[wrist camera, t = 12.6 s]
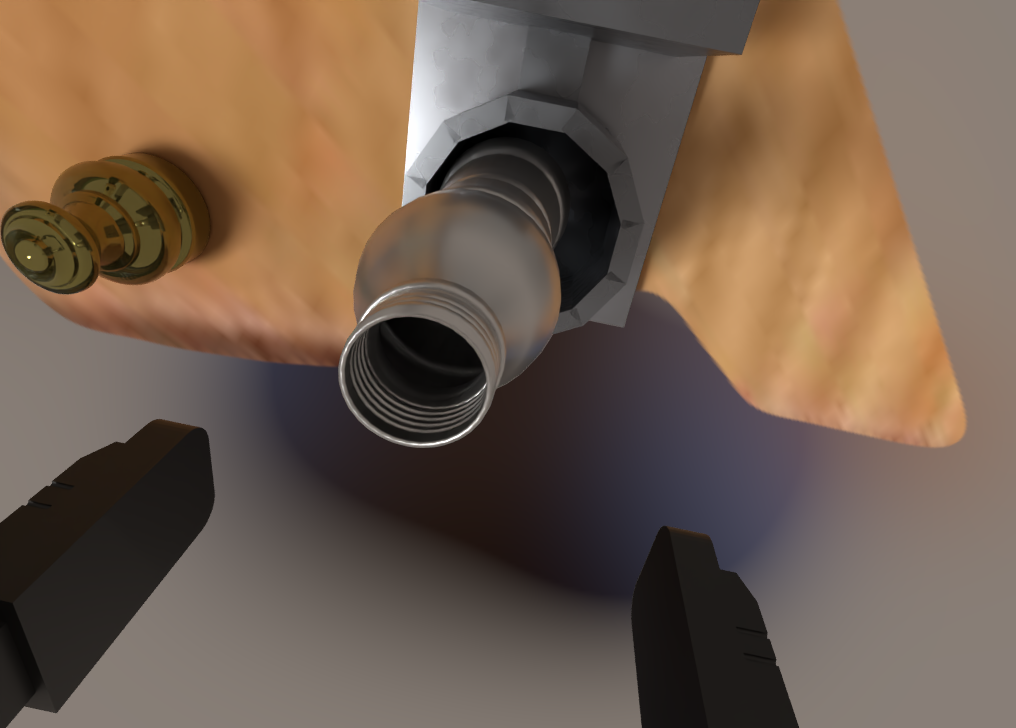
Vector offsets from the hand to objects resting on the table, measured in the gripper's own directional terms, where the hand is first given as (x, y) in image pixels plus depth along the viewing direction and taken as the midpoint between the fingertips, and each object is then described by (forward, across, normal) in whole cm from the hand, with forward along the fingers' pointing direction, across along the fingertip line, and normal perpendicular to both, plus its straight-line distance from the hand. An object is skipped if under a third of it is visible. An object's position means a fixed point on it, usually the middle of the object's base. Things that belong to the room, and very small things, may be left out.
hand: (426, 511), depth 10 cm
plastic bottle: (+24, +1, 0) cm, 24 cm away
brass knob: (+28, +24, +6) cm, 37 cm away
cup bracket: (+27, 0, -2) cm, 27 cm away
